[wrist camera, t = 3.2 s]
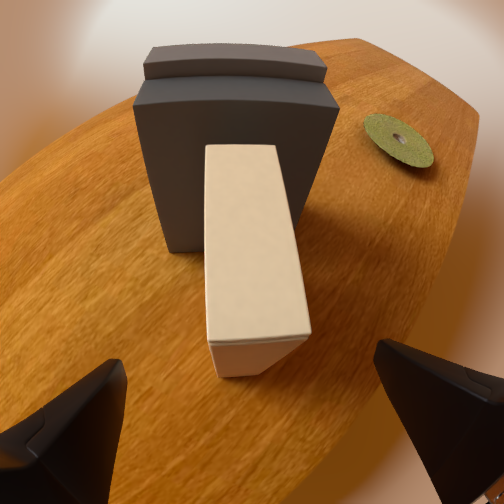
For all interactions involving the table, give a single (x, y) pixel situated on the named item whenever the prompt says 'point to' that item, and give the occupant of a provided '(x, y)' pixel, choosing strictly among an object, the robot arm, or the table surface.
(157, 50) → the grey books
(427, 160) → the green disc
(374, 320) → the table surface
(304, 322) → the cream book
